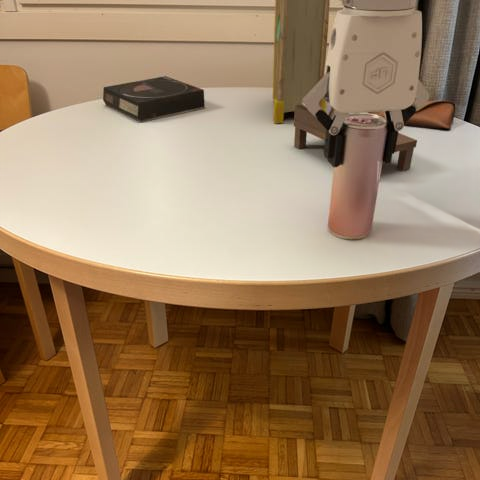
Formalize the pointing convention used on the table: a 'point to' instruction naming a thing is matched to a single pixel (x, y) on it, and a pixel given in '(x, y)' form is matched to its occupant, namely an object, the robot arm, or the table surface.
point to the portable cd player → (154, 98)
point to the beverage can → (357, 175)
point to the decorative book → (298, 52)
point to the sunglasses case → (430, 115)
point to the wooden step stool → (310, 124)
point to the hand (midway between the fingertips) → (358, 160)
